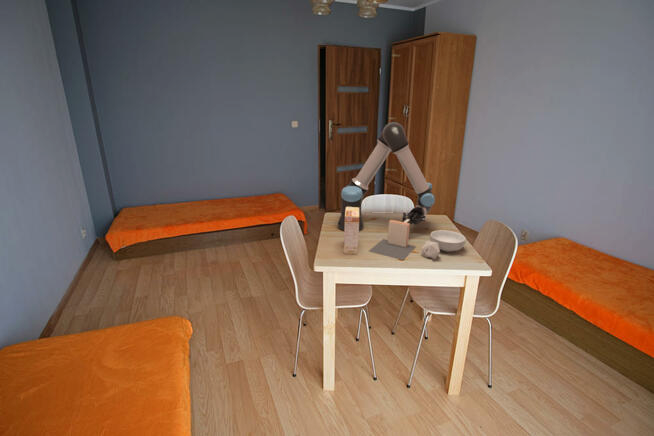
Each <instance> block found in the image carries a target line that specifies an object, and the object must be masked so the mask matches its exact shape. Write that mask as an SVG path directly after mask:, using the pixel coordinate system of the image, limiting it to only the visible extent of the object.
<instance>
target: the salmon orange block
mask: <svg viewBox="0 0 654 436" xmlns="http://www.w3.org/2000/svg"><path fill="white" fill-rule="evenodd" d="M410 227H411V225H410V223H405V222H402V221H399V220H394V219H390V220H389V221H388V229H387V231H388V232H387V240H388V242H387V243H389V244H393V245H398V246H402V247H407V246H408V245H409V239H410Z"/></svg>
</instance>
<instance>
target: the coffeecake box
mask: <svg viewBox="0 0 654 436" xmlns="http://www.w3.org/2000/svg"><path fill="white" fill-rule="evenodd" d="M343 232H344V233H343V254H346V255H347V254H348V255H349V254H350V255H358V253H359V238H360V235H359V234H360V231H359V207H346V210H345V228H344V231H343Z"/></svg>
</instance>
